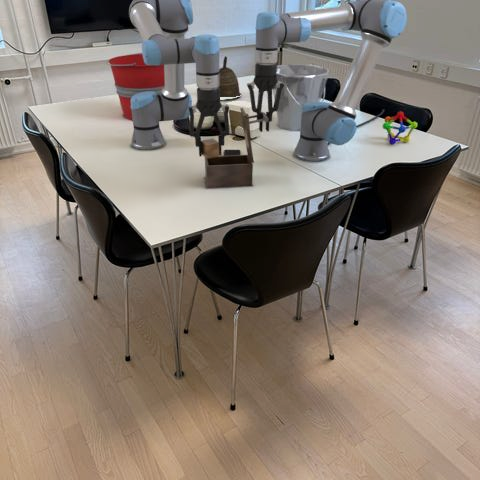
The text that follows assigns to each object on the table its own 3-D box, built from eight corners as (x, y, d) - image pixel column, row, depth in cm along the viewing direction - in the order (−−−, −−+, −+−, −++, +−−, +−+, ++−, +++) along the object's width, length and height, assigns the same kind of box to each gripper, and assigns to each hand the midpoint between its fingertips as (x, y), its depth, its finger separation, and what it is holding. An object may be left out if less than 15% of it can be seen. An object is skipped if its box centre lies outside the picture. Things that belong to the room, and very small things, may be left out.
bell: (227, 105, 294) (202, 96, 282) (238, 66, 289) (213, 55, 277) (243, 108, 280) (217, 98, 268) (255, 66, 275) (229, 55, 263)
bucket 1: (122, 105, 264) (115, 51, 248) (181, 105, 263) (177, 51, 248) (106, 122, 235) (96, 62, 219) (171, 123, 234) (167, 63, 218)
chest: (207, 188, 167) (206, 166, 163) (205, 177, 176) (204, 156, 171) (252, 185, 169) (252, 164, 165) (248, 175, 178) (248, 154, 173)
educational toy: (377, 146, 209) (379, 114, 202) (384, 138, 219) (386, 107, 211) (411, 149, 202) (415, 116, 195) (417, 141, 212) (420, 109, 204)
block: (206, 158, 154) (206, 145, 151) (200, 153, 157) (200, 140, 155) (219, 156, 156) (219, 142, 153) (213, 151, 159) (213, 138, 157)
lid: (244, 115, 155) (268, 111, 155) (240, 108, 163) (263, 103, 163) (251, 163, 164) (274, 158, 165) (247, 153, 173) (268, 149, 173)
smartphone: (222, 162, 187) (224, 149, 200) (222, 163, 188) (224, 150, 200) (240, 162, 187) (240, 149, 200) (240, 163, 188) (240, 151, 200)
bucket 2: (296, 138, 215) (301, 78, 201) (255, 124, 234) (256, 68, 219) (335, 125, 232) (342, 70, 217) (294, 113, 251) (297, 61, 236)
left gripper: (178, 91, 140) (183, 159, 152) (239, 89, 142) (238, 157, 154) (178, 85, 146) (182, 151, 158) (236, 84, 148) (235, 149, 160)
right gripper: (246, 65, 147) (245, 134, 160) (289, 64, 149) (285, 132, 161) (243, 61, 153) (242, 128, 166) (284, 60, 155) (281, 126, 168)
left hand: (210, 154), depth 156 cm, fingers closed on block, 6 cm apart
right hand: (264, 130), depth 164 cm, fingers closed on lid, 2 cm apart
